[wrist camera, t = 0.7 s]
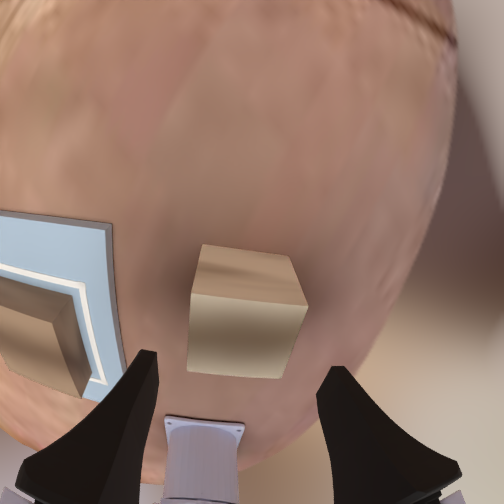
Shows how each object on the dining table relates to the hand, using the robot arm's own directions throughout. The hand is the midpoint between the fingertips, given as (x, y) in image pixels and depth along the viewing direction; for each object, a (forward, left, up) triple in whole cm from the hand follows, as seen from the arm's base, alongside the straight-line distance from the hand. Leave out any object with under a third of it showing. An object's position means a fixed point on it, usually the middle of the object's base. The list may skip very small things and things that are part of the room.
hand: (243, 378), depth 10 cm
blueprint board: (-6, +15, -7) cm, 18 cm away
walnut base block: (-6, +15, -6) cm, 17 cm away
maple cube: (0, 0, -7) cm, 7 cm away
